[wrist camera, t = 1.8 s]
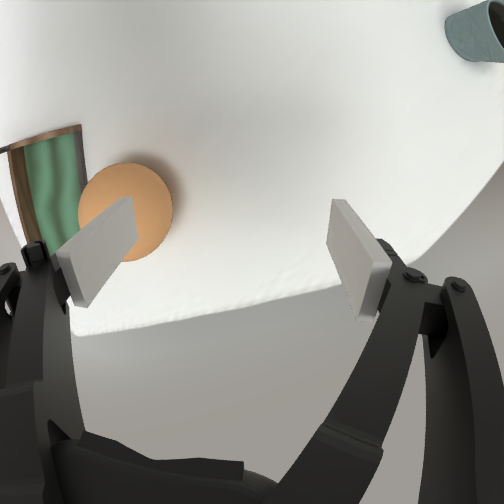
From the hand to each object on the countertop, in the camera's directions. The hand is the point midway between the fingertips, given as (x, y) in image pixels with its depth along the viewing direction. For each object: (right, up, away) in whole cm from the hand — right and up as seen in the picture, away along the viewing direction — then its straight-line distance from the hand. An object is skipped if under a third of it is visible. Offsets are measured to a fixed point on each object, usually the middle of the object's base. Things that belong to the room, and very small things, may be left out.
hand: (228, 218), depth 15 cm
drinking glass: (+35, +33, +8) cm, 49 cm away
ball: (-15, +3, +19) cm, 25 cm away
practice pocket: (-33, +7, +25) cm, 42 cm away
